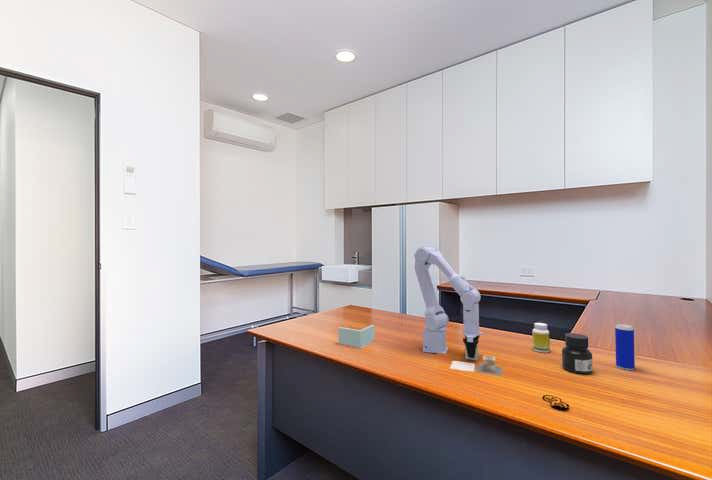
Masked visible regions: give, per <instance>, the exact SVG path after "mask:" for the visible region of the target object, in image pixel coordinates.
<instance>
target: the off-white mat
mask: <svg viewBox="0 0 712 480" xmlns="http://www.w3.org/2000/svg"><path fill="white" fill-rule="evenodd" d="M475 365H476V364H475V363H473V362H465V361H458V360H452V361H451V365H450V366H449V368H450V369H451V370H458V371H464V372H473V373H474V372H475Z"/></svg>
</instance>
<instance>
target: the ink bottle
mask: <svg viewBox="0 0 712 480" xmlns="http://www.w3.org/2000/svg"><path fill="white" fill-rule="evenodd" d="M564 341H565V342H564V344H565V346H564V347H563V348H562V350H561V366H562V369H564V370H566V371H568V372H571V373H574V374H579V375H589V374H592V373H593V353H592V352H591V351H590V350H589V337H588V336H587V335H584V334H582V333H573V332H571V333H570V332H569V333H564Z"/></svg>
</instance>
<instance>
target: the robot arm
mask: <svg viewBox="0 0 712 480" xmlns="http://www.w3.org/2000/svg"><path fill="white" fill-rule="evenodd" d="M413 256H414V259H415V260H414V271H415V275H416V278H417V282H418V285H419V288H420V291H421V295H422V297H423V301H424V304H425V307H426V309H425V312H424V318H425V319H424V323H425V326H426V328H423V330H422V352H423V353H430V354H431V353H433V354H447V352H448V350H449V347H447V325H449V321H450V320H449V316H448V314H447V313H446V311H445V310H444V308H443V306H441V305H440V303H439V301H438V296H437V294H436V291H435V288H434V285H433V281H432V278H431V274H430V273H429V269H430V267H431V266H432V265H434V266H437V267H438V269H439V270H440V271H442V273H443V274H444V275H445V276H446V277H447V278H448V280H449V281H448V283H449V285H450V286H451V287H452V289H454V290H455V292H456V293H457V294H458V295H459V296H460V302H461V303H462V305H463V306H462V307H463V308H462V312H463V313H462V314H463V319H462V321H463V332H462V333H463V335H464V337H463V338H462V342H463V344H464V346H465V347H466V349H467V354H468V357H469V358H474V357H475V351H476V346H478V344H479V342H480V340H479V338H480V336H483V331H480V313H479V311H480V310H479V309H480V308H479V307H480V306H479V302H480V301H481V298H482V296H481V293H480V291H479V289H476V288H474V287H473V285H471V284H470V283H469V282H468V281H467V280H466V277H465V275H462V274H460V273H456V272H455V270H453V268H452V267H451V265H450V264H449V263H448V261H447V260H446V259H445V258H444V256H443V254H442V252H441V251H439V250H438V248H437V247H435V246H425V247H424V246H421V247H418V248H416V251H415V253H414V254H413Z"/></svg>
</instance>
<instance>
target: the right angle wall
mask: <svg viewBox="0 0 712 480" xmlns="http://www.w3.org/2000/svg"><path fill="white" fill-rule="evenodd" d="M337 331H338V334H337V335H338V344H339V343H340V344H339V345H341V344H344V345H343V346H346V345H349V346H348V347H351V346H353V347H352V348H356V347H358V348H357V349H362V348H364V347H366V346H368V345H370V344H371V342H372V343H374V342H375V324H371V325H369V326H366V327H365V328H362V329H355V328H354V329H353V328H348V327H341V326H339V327H338V330H337ZM373 341H374V342H373Z"/></svg>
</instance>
